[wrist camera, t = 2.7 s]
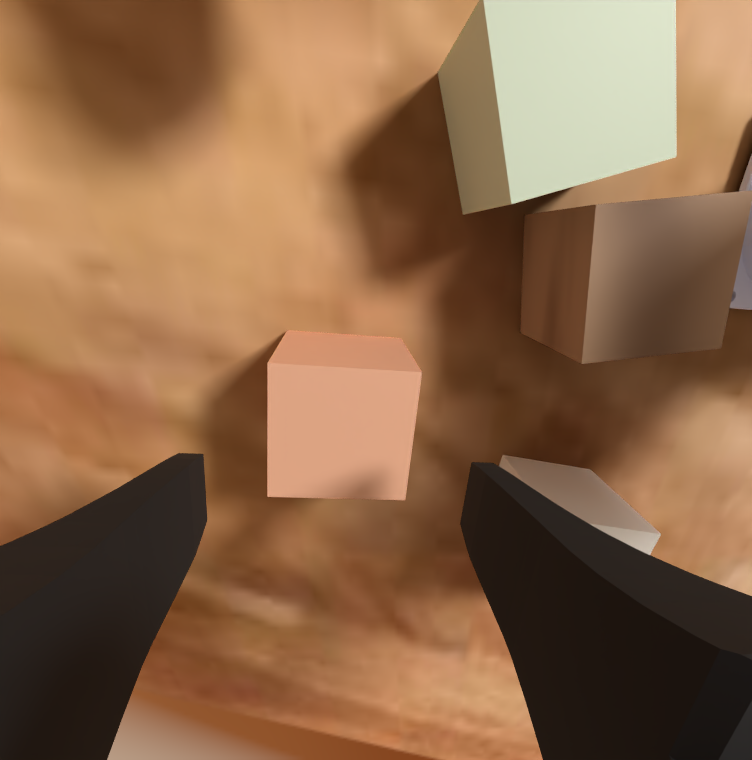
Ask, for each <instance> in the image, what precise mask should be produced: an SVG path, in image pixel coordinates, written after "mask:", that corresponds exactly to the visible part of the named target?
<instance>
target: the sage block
mask: <svg viewBox="0 0 752 760" xmlns="http://www.w3.org/2000/svg"><path fill="white" fill-rule="evenodd" d="M438 78H439V84H440V89H441V95H442V100H443V106H444V112H445V117H446V123H447V128H448V134H449V140H450V145H451V151H452V156H453V162H454V168H455V173H456V179H457V185H458V190H459V196H460V201H461V207H462V213H463V215H464V214H469V213H473V212H478V211H483V210H487V209H492V208H496V207H501V206H506V205H510V204H514V203H518V202H521V201H524V200H528V199H531V198H535V197H538V196H542V195H545V194H549V193H552V192H556V191H559V190H563V189H566V188H570V187H573V186H577V185H580V184H584V183H587V182H591V181H594V180H598V179H601V178H605V177H608V176H612V175H615V174H619V173H622V172H626V171H629V170H633V169H636V168H640V167H643V166H647V165H650V164H654V163H657V162H660V161H664V160H667V159H671V158H674V157H676V0H479V2H478V3H477V5H476V7H475V9H474V10H473V12H472V14H471V16H470V17H469V19H468V21H467V22H466V24H465V26H464V28H463V29H462V31H461V33H460V35H459V36H458V38H457V40H456V42H455V43H454V45H453V47H452V48H451V50H450V52H449V54H448V55H447V57H446V59H445V61H444V62H443V64H442V66H441V68H440V69H439V71H438Z"/></svg>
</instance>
